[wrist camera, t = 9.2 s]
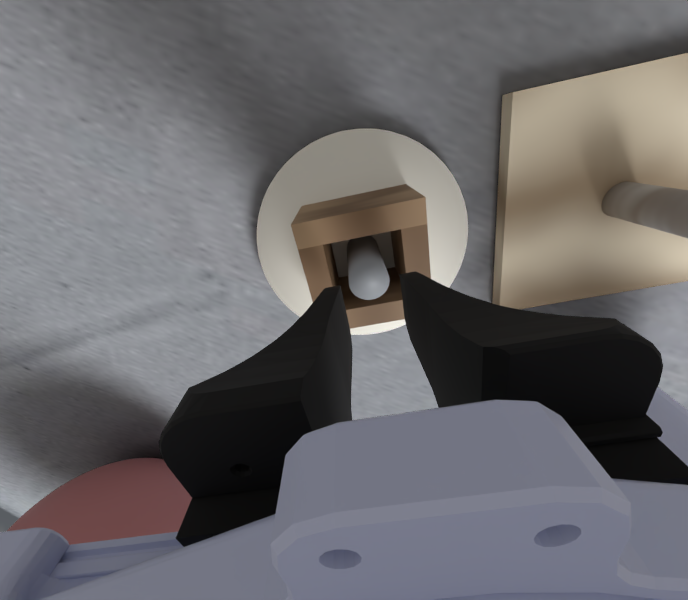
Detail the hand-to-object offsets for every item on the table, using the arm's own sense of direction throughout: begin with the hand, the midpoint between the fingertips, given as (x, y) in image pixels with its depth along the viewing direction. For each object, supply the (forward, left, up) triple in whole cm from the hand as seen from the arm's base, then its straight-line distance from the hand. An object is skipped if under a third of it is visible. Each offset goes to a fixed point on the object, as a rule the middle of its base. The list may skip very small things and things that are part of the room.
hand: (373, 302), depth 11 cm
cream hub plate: (0, 0, -7) cm, 7 cm away
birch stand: (0, -14, -7) cm, 16 cm away
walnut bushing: (0, 0, -6) cm, 6 cm away
